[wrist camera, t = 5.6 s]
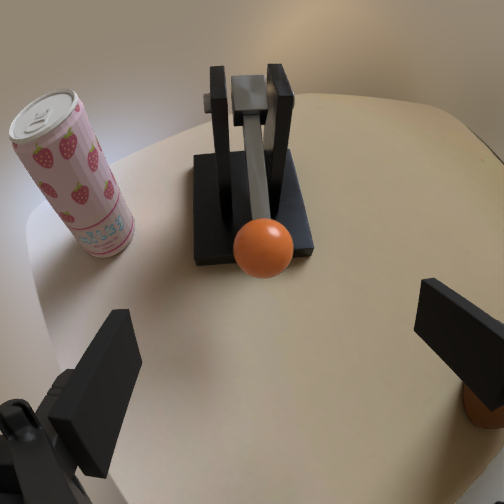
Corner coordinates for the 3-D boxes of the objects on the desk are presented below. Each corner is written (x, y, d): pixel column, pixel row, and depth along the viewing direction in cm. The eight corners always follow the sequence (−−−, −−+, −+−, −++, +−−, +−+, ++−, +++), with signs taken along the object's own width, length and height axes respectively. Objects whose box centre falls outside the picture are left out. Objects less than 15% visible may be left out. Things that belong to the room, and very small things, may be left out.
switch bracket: (311, 256, 28) (353, 136, 16) (196, 266, 27) (162, 145, 15) (288, 158, 34) (303, 44, 21) (195, 164, 33) (177, 49, 21)
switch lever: (290, 275, 21) (302, 275, 17) (235, 280, 21) (236, 282, 17) (270, 96, 22) (276, 69, 18) (221, 98, 22) (220, 71, 18)
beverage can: (93, 270, 27) (5, 157, 14) (77, 227, 29) (6, 115, 16) (145, 240, 28) (86, 108, 15) (124, 200, 31) (73, 77, 17)
